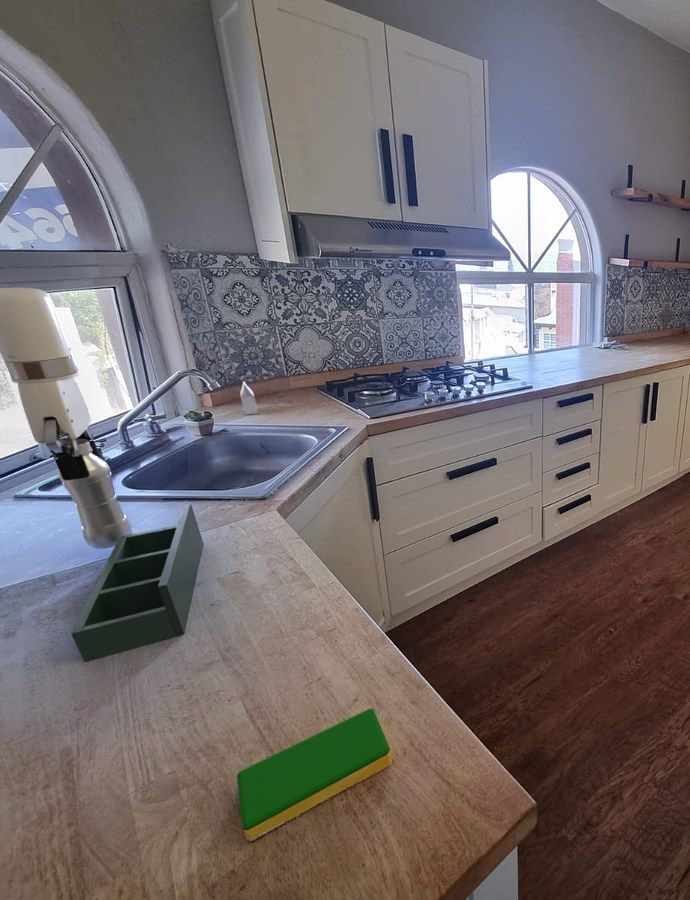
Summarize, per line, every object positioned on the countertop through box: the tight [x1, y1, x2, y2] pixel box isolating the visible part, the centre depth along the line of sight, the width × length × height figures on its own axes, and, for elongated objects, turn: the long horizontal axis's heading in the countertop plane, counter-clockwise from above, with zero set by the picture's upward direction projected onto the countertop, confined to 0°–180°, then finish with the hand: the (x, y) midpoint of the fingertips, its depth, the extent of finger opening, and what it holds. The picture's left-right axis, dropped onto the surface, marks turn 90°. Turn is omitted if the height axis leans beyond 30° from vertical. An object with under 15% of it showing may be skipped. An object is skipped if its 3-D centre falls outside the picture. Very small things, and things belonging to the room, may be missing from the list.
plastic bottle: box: [58, 439, 133, 550], centre depth 89 cm, size 6×7×20 cm
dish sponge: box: [236, 708, 393, 839], centre depth 55 cm, size 7×14×2 cm, turn 128°
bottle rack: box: [71, 502, 204, 663], centre depth 81 cm, size 11×28×9 cm, turn 31°
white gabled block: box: [239, 380, 259, 416], centre depth 169 cm, size 4×7×10 cm, turn 35°
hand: (83, 469), depth 87 cm, fingers closed on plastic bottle, 6 cm apart
